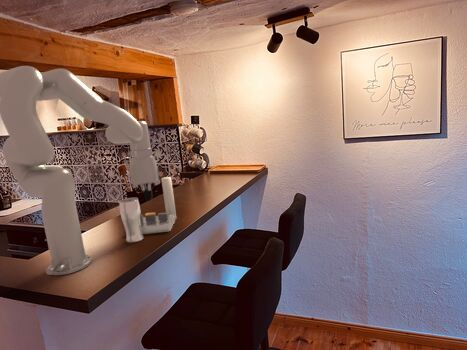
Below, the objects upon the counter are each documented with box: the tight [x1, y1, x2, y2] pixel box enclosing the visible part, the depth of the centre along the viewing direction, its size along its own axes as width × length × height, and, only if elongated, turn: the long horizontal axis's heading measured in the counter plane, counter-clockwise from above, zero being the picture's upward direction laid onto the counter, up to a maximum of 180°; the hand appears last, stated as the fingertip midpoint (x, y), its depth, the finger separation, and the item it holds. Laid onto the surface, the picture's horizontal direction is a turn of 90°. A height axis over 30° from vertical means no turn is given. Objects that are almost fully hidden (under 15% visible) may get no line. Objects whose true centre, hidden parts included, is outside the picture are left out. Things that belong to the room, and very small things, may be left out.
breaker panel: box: [141, 215, 176, 235], centre depth 135 cm, size 12×16×3 cm
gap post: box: [161, 176, 177, 220], centre depth 143 cm, size 4×4×18 cm
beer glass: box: [118, 197, 144, 243], centre depth 123 cm, size 7×7×15 cm
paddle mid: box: [144, 212, 157, 222], centre depth 134 cm, size 2×4×3 cm, turn 90°
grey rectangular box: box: [157, 211, 169, 221], centre depth 134 cm, size 2×4×2 cm, turn 90°
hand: (149, 199), depth 133 cm, fingers closed
